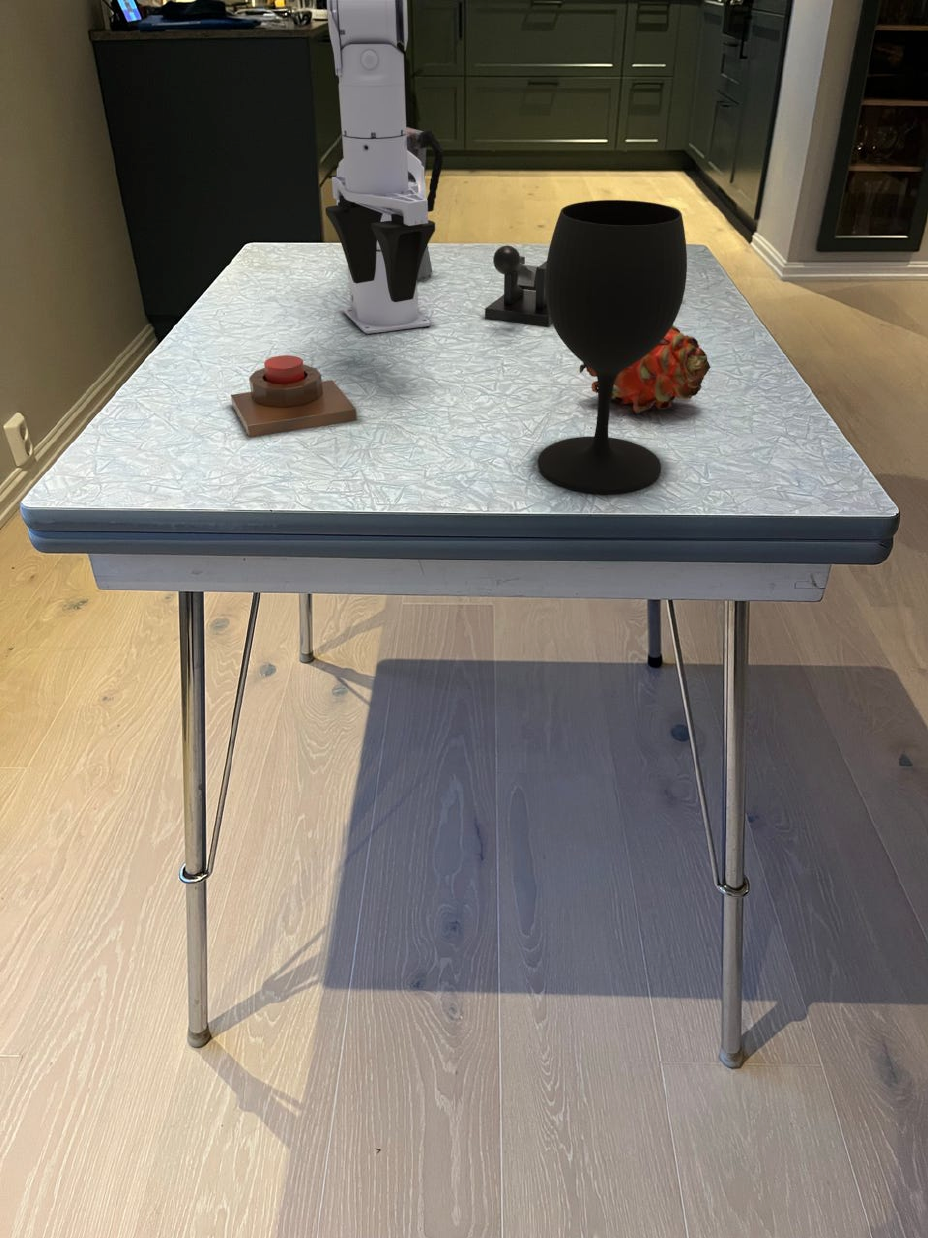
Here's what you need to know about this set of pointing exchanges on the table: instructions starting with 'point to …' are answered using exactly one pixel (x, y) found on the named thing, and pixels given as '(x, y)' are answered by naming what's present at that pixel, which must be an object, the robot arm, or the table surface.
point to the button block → (291, 404)
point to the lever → (515, 267)
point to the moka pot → (417, 147)
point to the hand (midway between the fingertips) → (382, 290)
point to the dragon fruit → (661, 374)
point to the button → (284, 369)
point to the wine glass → (611, 322)
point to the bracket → (521, 301)
